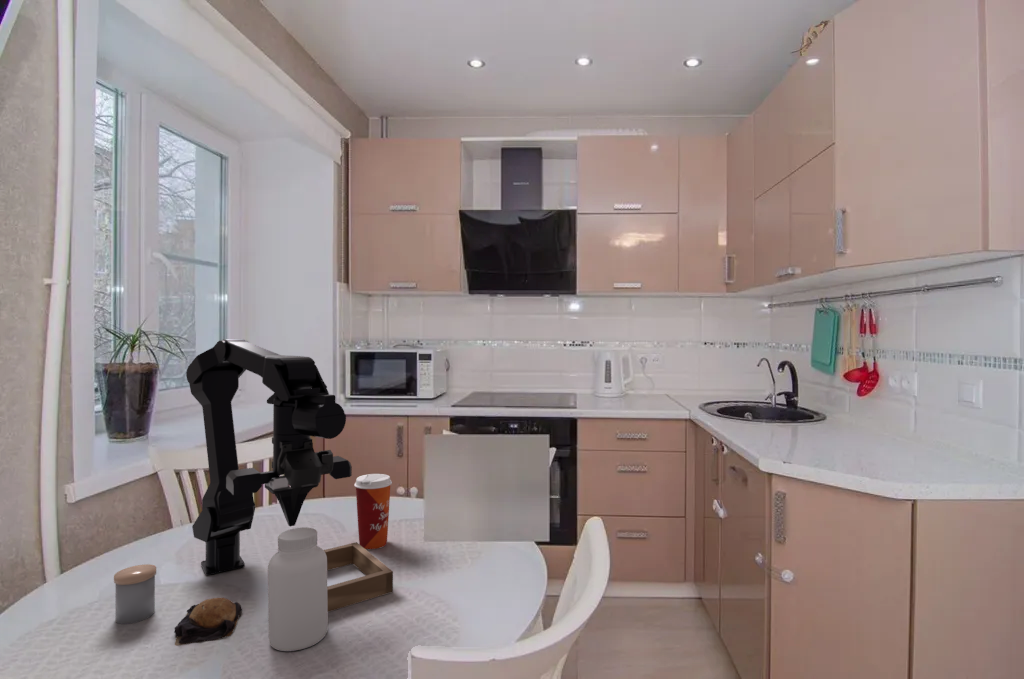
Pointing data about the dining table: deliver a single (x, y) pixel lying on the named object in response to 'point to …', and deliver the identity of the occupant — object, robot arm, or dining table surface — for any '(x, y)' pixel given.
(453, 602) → the dining table surface
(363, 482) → the paper cup
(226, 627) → the bread roll
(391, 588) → the tray
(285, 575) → the pill bottle
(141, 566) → the grey sugar pot
